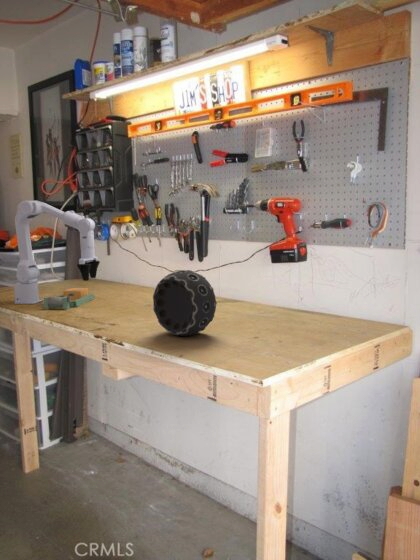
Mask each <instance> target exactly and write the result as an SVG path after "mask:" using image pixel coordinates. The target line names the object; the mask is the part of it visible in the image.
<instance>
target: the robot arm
mask: <svg viewBox="0 0 420 560" xmlns="http://www.w3.org/2000/svg"><path fill="white" fill-rule="evenodd" d="M41 214H46V215H49V216H52V217H54V218H57V219H60V220H61V222H62V223H63V224H64V225H67V226H69V227H72V228H74V229H76V230H78V231H79V243H80V256H81V257H80V258H79V259H78V263H77V264H76V267H77V268H78V269H79V272H80V274H81V277H82V281H84V282H85V281H86V282H87V281H90V280H89V279H96V278H97V273H98V272H97V271H98V268H99V265H100V263H101V262H100V260H98V259H99V257H98V256H97V255H96V251H95V250H96V249H95V248H96V247H95V233H94V232H95V231H94V230H95V228H96V223H95V221H94V220H93V219H92V218H90V217H86V218H85V215H80V214H77V213H75V211H74V210H67V211H63V210H61V209H59V208H57V207H54V206H52V205H49V204H48V203H46V202H43V201H39V200H37V199H35V200H28V199H27V200H26V199H25V200H23V201H21V202H20V203H19V204H18V205H17V211H16V213H15V217H14V224H15V225H14V226H15V233H16V241H17V248H18V249H17V250H18V255H19V262H18V264H17V265H16V268H17V269H16V274H15V276H16V279H17V281H18V282H16V283H15V284H14V288H13V293H14V305H15V304H16V305H17V304H18V305H21V304H22V305H25V304H26V305H28V304H29V305H34V304H38V303H40V302H42V301H43V302H44V298H42V299H40V297H39V296H40V295H39V294H40V293H39V285H38V284H39V282H38V278H39V277H40V274H41V272H40V269H39V268H38V266H37V262H36V260H35V259H34V256H33V255H34V254H33V248H32V239H31V232H30V222H32V221H33V219H34V218H36V217H38V216H40V215H41Z"/></svg>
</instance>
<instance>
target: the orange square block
mask: <svg viewBox="0 0 420 560" xmlns="http://www.w3.org/2000/svg"><path fill="white" fill-rule="evenodd" d="M62 294H63V297H67V294H74V296H70V300H71V301H75V300H77V299H79V298H82V297H84V296H86V295H88V294H89V288H88V287H73V288H72V287H71V288H68V289H65V290H63V291H62Z"/></svg>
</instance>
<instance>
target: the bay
mask: <svg viewBox="0 0 420 560" xmlns="http://www.w3.org/2000/svg"><path fill="white" fill-rule="evenodd" d="M70 296H74V294H67V297H63V293H62V294H59V295H57V296H45V297H43V306H44V310H51V309H52V308H62V309H64V311H65V310H66V309H67V310H69V309H70V308H78V307H80V306H83V304H86V303H89V302H91V301H93V300H95V293H94V292H91V293H88V295H86V296H84V297H82V298H79V299H77V300H75V301H71V300H70Z"/></svg>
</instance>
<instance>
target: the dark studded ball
mask: <svg viewBox="0 0 420 560" xmlns="http://www.w3.org/2000/svg"><path fill="white" fill-rule="evenodd" d="M214 290H215V289H214V287H212V285H211V283H210V281H208V279H206V277H205V276H204V275H202V274H199V273H197V272H195V271H192V270H190V269H188V270H178V271H173V272H170V273H168V274H167V275H166V276H163V278H162V279H160V281H159V282H158V283H157V284H156V286H155V289H154V292H153V294H152V301H153V304H152V305H153V307H152V310H153V312H154V314H155V316H156V319H157V322H158V323H159V324H160V325H159V326H161V327H162V328H164V329H165V331H167V332H168V333H170V334H172V335H175V336H180V337H181V336H184V337H185V336H192V335H195V334H198V333H199V332H203V331H205V329H206V328H207V327H208V326H209V324H210V323H211V322H213V321H214V318H215V315H216V314H215V313H216V310H217V309H216V307H217V305H218V304H217V303H218V302H217V300H216V294H215V291H214Z"/></svg>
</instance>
